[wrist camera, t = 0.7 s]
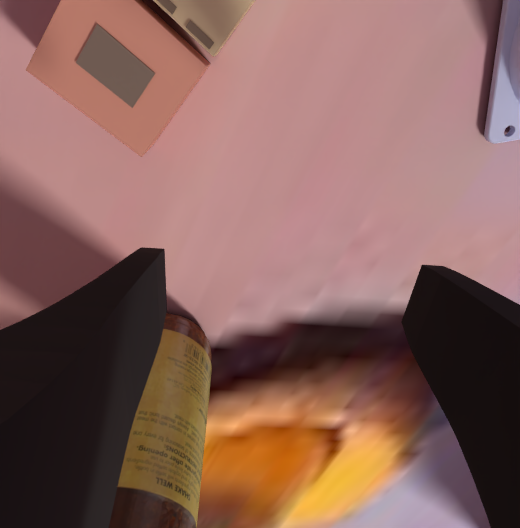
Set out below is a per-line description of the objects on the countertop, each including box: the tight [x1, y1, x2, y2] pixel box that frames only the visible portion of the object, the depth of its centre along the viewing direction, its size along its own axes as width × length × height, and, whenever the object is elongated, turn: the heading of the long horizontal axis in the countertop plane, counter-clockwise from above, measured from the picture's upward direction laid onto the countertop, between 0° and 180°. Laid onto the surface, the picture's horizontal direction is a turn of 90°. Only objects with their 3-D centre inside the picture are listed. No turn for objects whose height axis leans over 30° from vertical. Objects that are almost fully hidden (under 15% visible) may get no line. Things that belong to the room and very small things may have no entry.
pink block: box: [26, 0, 210, 157], centre depth 15 cm, size 4×5×3 cm
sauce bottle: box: [109, 313, 211, 528], centre depth 16 cm, size 6×6×20 cm
